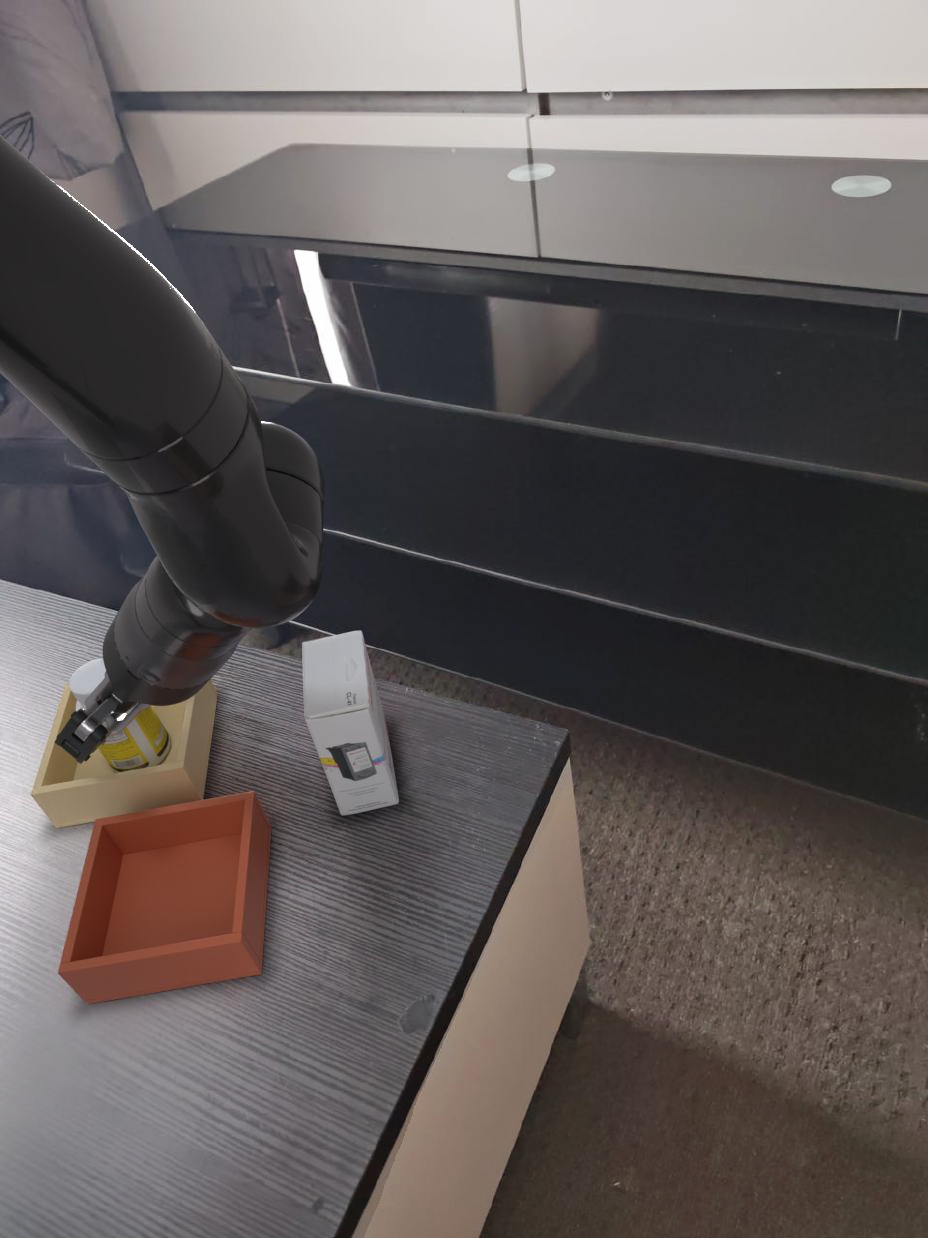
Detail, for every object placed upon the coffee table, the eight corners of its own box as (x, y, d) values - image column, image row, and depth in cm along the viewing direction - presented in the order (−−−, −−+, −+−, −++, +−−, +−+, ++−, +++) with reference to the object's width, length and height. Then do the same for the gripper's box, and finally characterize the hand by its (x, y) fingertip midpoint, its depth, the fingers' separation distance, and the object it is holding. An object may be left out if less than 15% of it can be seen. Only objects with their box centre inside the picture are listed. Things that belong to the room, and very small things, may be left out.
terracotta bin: (261, 974, 63) (240, 941, 60) (87, 1004, 63) (57, 973, 60) (272, 825, 72) (254, 790, 69) (119, 853, 73) (94, 819, 70)
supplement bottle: (152, 719, 82) (108, 641, 76) (183, 749, 79) (139, 670, 73) (99, 757, 80) (48, 680, 73) (129, 788, 77) (78, 711, 70)
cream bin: (202, 802, 75) (183, 767, 72) (56, 828, 76) (30, 795, 72) (218, 693, 84) (201, 658, 81) (87, 717, 85) (65, 683, 82)
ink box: (334, 738, 78) (296, 638, 70) (392, 725, 78) (361, 624, 70) (340, 821, 72) (299, 721, 64) (403, 806, 72) (370, 705, 64)
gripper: (201, 531, 64) (147, 614, 77) (49, 668, 56) (17, 736, 69) (281, 603, 65) (215, 674, 78) (144, 749, 57) (95, 801, 70)
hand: (122, 703), depth 73 cm, fingers open, 8 cm apart
